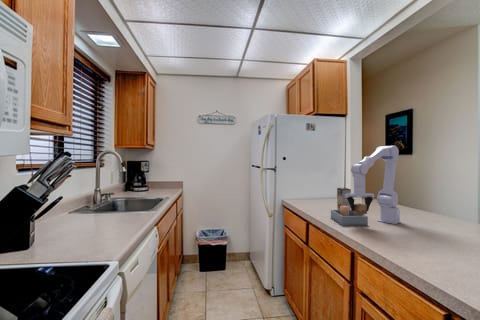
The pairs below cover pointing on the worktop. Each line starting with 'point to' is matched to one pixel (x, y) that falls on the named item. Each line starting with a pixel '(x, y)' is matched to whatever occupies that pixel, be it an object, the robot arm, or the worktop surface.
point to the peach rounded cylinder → (344, 210)
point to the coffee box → (342, 197)
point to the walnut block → (360, 209)
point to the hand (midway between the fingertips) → (359, 210)
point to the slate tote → (349, 219)
